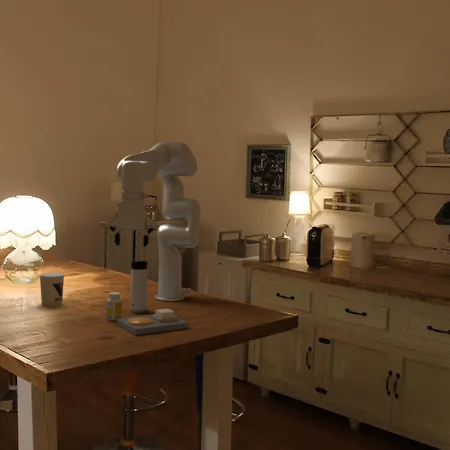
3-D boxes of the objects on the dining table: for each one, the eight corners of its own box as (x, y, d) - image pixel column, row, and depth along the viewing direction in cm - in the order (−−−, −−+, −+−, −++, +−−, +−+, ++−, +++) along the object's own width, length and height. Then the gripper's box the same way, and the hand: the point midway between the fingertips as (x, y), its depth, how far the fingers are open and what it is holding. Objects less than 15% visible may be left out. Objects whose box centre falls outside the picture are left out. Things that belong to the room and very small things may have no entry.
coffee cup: (57, 307, 251) (57, 277, 250) (35, 306, 253) (35, 275, 252) (68, 302, 261) (68, 273, 259) (46, 301, 262) (46, 271, 261)
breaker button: (167, 316, 234) (167, 308, 234) (174, 319, 230) (174, 311, 230) (155, 317, 232) (155, 309, 231) (161, 320, 228) (161, 313, 227)
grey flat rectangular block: (166, 317, 241) (167, 310, 240) (187, 328, 227) (187, 319, 227) (116, 324, 230) (116, 315, 230) (135, 335, 216) (135, 326, 216)
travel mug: (131, 313, 246) (132, 261, 244) (129, 309, 252) (130, 258, 250) (148, 313, 247) (148, 261, 245) (145, 308, 254) (146, 258, 252)
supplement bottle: (105, 320, 234) (106, 294, 233) (107, 317, 239) (107, 291, 238) (121, 320, 235) (121, 294, 234) (121, 317, 240) (122, 291, 239)
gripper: (159, 197, 229) (157, 245, 231) (110, 195, 230) (110, 243, 232) (155, 198, 222) (153, 248, 223) (105, 196, 223) (104, 246, 224)
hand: (131, 245), depth 228 cm, fingers open, 9 cm apart
